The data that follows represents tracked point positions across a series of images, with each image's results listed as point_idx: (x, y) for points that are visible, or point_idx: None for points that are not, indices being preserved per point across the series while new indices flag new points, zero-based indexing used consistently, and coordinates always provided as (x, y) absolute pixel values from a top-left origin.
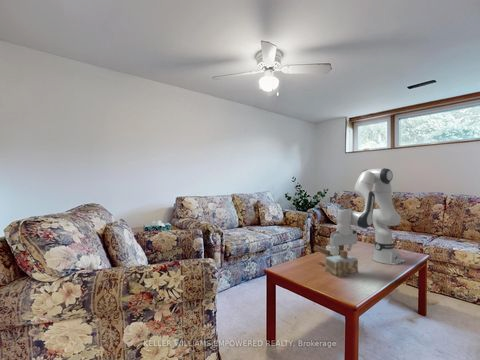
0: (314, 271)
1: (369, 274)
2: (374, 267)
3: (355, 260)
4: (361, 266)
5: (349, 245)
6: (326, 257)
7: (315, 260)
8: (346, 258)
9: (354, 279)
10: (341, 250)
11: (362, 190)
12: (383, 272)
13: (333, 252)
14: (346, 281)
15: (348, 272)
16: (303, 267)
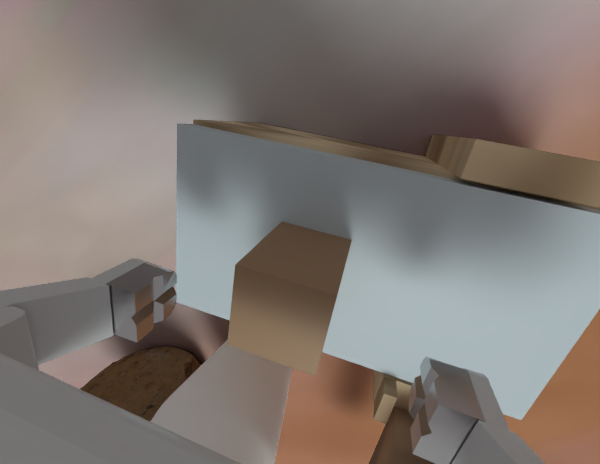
0: (575, 353)
1: (197, 42)
2: (60, 128)
3: (222, 130)
4: (130, 193)
5: (36, 353)
6: (520, 408)
7: (333, 437)
8: (301, 224)
9: (436, 18)
10: (105, 395)
11: None
12: (63, 15)
13: (248, 418)
14: (579, 17)
15: (362, 144)
16: (560, 444)
